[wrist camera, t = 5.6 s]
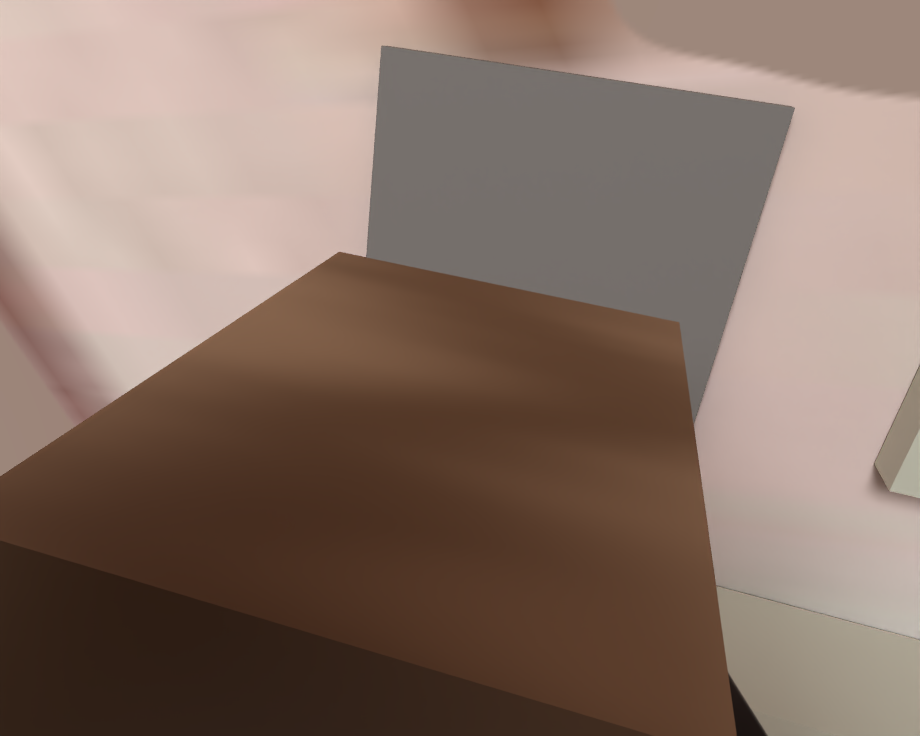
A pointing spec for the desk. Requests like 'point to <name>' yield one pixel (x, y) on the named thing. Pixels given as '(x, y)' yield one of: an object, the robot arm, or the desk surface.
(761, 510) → the desk surface
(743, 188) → the rubber mat
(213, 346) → the walnut block
